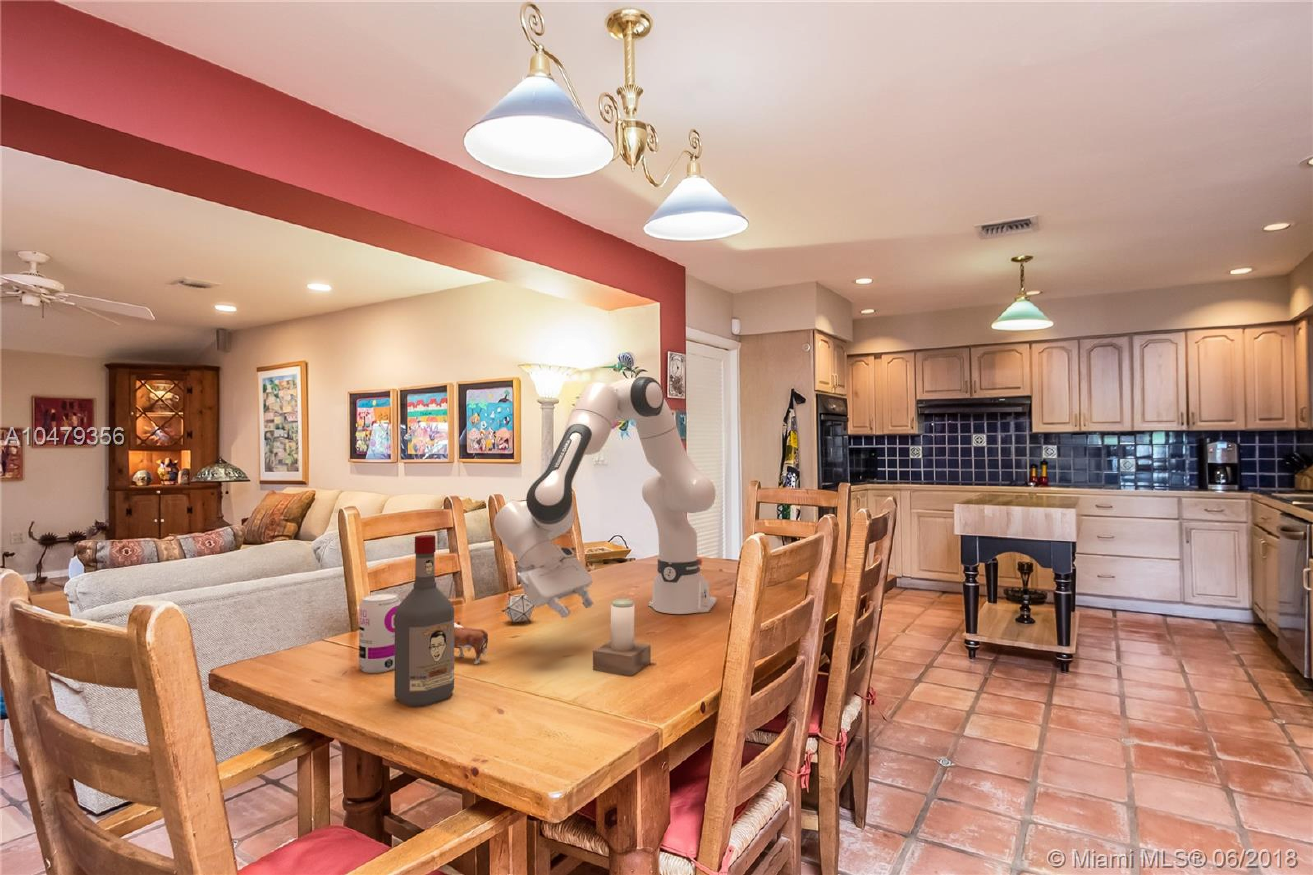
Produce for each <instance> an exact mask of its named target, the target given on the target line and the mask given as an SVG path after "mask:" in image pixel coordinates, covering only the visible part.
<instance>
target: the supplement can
mask: <svg viewBox="0 0 1313 875" xmlns="http://www.w3.org/2000/svg"><path fill="white" fill-rule="evenodd" d="M401 602H402V601H401V600H400V598H399V595H398V594H397V593H390V592H387V593H385V592H384V593H373V594H369V595H364V597H362V599H361V601H360V603H359V605H358V606H359V609H358V613H359V614H358V615H359V617H358V619H359V620H358V623H359V624H358V629H359V630H358V668H359V669H360V670H361V672H363V673H366V674H367V673H368V674H380V673H387V672H390V671H393V670H395V612H396V609H397V607H398V606H399V605H400V603H401Z"/></svg>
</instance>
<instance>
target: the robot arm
mask: <svg viewBox="0 0 1313 875" xmlns="http://www.w3.org/2000/svg"><path fill="white" fill-rule="evenodd" d="M664 395H665V393H664V390H663V388H662V386H661V384H660V383H659V381H657V379H655V378H653V377H651V376H638V377H631V378H623V379H620V380H617V381H613V382H610V383H606V382H603V381H594V382H591V383H589V384H588V385H587V386H586V387H585V388H584V390H583V391H582V392H581V394H580V395H579V397H578V398H577V400H576V402H575V404H574V406H573V408H572V410H571V412H570V414H569V417H568V420H567V422H566V425H565V428H564V432H563V434H562V438H561V440H560V442H559V444H558V446H557V448H556V451H555V452H554V454H553V456H552V458H551V460H550V462H549V464H548V466H547V468H546V469H545V471H544V472H543V473H542V475H540V477H539V478H537V479H536V480H535V481H534V482H533V483H532V484H531V485H530V487H529V488H528V490H527V493H526V497H525V498H526V499H525V500H522V501H519V500H510V501H509V502H507V503H505V504H503V505H502V507H500V508H499V510H498V511H497V512H496V514H495V517H494V520H493V527H494V530H495V532H496V534H497V536H498V538H499V539H500V541H501V542H502V544H503V545H504V547H505V548H506V549H507V550H508V552H510V553H511V554H512V555H513V556H514V557H515V559H516V562H517V564H518V565H519V567H520V568H519V569H518V570H517V573H516V575H517V576H516V577H517V578H518V581H519V582H520V587H521V589H522V590H523V592H524V594H526V596H527V597H528V599H529V600H530V602H531V603H532V604H533V605H534V607H536V608H541V607H543V606H546V605H547V606H548V607H549V608H550V609H551V610H553V611H554V612H556V613H558V615H560V617H561V618H562V619H565V618H567V617H568V616H569V615H571V610H570V609H569V606H567V605H564V604H562V603H561V602H560V601H559V600H562V599H565V598H567V597H568V598H569V597H571V596H573V595H576V594H577V596H579V597H581V599H582V603H581V604H582V605H583V607H584V608H585V609H589V608H591V607H592V606H594V600H593V599H592V597H591V595H590V591H589V589H588V588H589V587H590V586H591V585H592V583H593V577H592V576H591V573H590V572H589V571H588V570H587V568H586V567H585V565H584V564H583V563H582V562H581V561H580V560H579V559H578V558H576V557H574V556H575V551H574V550H573V549H572V548H571V547H566V546H560V545H558V544H554V543H553V542H552V541H553V540H555V539H558V538H559V537H561V536H563V535H565V534H566V533H568V532H569V531H570V530H571V528H572V527H573V525H574V522H575V508H574V504H573V490H572V487H573V484H572V483H573V481H574V478H575V477H576V474H577V472H578V469H579V467H580V465H581V463H582V461H583V459H584V457H585V456H586V455H593V454H597V453H599V452H600V451H601V450H602V449H603V447H604V446H605V444H606V443H607V441H608V439H609V437H610V434H611V432H612V430H613V429H612V428H613V426H614V423H615V422H627V421H632V420H634V422H635V427H636V431H637V435H638V438H639V441H640V443H641V446H642V450H643V453H644V455H645V458H646V462H647V463H648V464H649V465H650V466H651V467H652V468H654V469H655V470H656V471H657V472H658V474H654V475H653V474H652V475H651V476H649V477H647V478H646V480H645V481H644V483H643V484H642V488H641V494H642V495H641V496H642V499H643V501H644V503H646V505H647V506H648V507H649V508H650V511H651V513H652V514H653V517H654V521H655V524H656V527H657V528H656V529H657V533H658V559H657V564H656V567H657V573H658V574H657V575H656V576H655V577H654V578H653V583H652V586H653V587H652V598H651V600H650V601H649V602H648V606H649V607H650V608H653V610H654V611H656V612H659V613H664V614H672V615H673V614H674V615H686V614H694V613H695V614H697V613H708V612H710V611H711V610H712V608H713V607H714V606H715V604H716V603H717V601H718V600H717V597H715V596H711V595H710V583H709V581H708V580H707V579H706V578H705V577H704V576H703V574H701V572H700V571H701V566H702V565H703V558H701V557H700V558H698V534H697V531H696V529H695V528H694V527H693V526H692V525H691V524H690V522H689V520H688V517H687V514H686V513H689V514H696V513H702V512H706V511H708V510H710V509H711V508H712V506H713V505H714V503H715V500H716V494H717V493H716V488H715V485H714V482H713V481H712V480H711V479H710V478H708V477H707V476H705V475H704V474H703V473H702V472H701V471H700V470H699V469H698V468H697V466H696V465H695V463H694V462H693V460H692V459H691V458H690V457H689V455H688V453H687V451H686V448H685V446H684V444H683V442H682V439H681V436H680V433H679V430H678V426H677V424H676V421H675V418H674V416H673V413H672V410H671V408H670V406H669V405H668V403H667V401H666V399H665V396H664Z"/></svg>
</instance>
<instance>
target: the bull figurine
mask: <svg viewBox="0 0 1313 875" xmlns="http://www.w3.org/2000/svg"><path fill="white" fill-rule="evenodd" d="M488 635H489V633H488V632H487V631H486V630H484V629H479V628H471V627H466V626H464V625H461V622H460V621H456V622H455V621H454V649H459V654H458V658H463V657H465V654H464V651H463V649H467V652H471V649H474V651H475V652H474V653H475V655H476V656H475V658H474V660H475V661H474V663H473V665H474V664H475V665H478V664H479V663H480V659H482V656H485V655H486V653H487V650H488V641H489V636H488Z"/></svg>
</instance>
